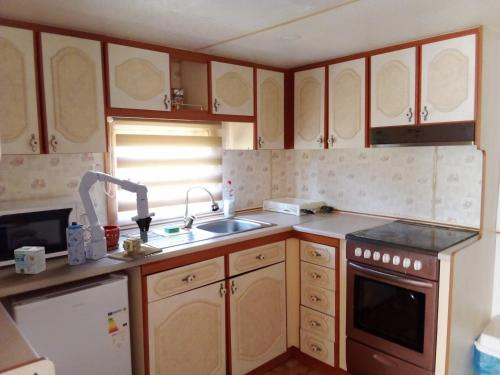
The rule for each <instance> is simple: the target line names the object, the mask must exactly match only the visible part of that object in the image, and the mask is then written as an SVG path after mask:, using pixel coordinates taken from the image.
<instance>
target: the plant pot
mask: <svg viewBox="0 0 500 375" xmlns="http://www.w3.org/2000/svg"><path fill="white" fill-rule="evenodd" d="M102 226H103V228H104V232H105V236H104V237H106V248H107V251H112V250H116V249H117V248H119V246H120V243H119V240H120V234H121V232H120V226H119V225H115V224H108V225H102Z"/></svg>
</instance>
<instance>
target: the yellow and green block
mask: <svg viewBox="0 0 500 375" xmlns="http://www.w3.org/2000/svg"><path fill="white" fill-rule="evenodd" d="M148 235H149V234H148V232H147V231H145V230H144V232H141V231H140V230H139V238H140V240H141V245H142V244H147V243H149V240H148ZM128 247H129V246H128V244H127V243H124V244H123V243H122V248H123V249H124V248H128Z"/></svg>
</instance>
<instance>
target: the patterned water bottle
mask: <svg viewBox="0 0 500 375" xmlns="http://www.w3.org/2000/svg"><path fill="white" fill-rule="evenodd" d="M65 234H66V244H67V245H66V246H67V257H68V258H67V259H68V261H67V264H68V265H71V266H74V265H75V266H77V265H81V264H84V263H86V262H87V261H86V249H85V238H84V237H85V236H84V228H83V226H82V225H80V224H78V222H77V221H72V222H71V224H70V225H68V227H66V231H65Z"/></svg>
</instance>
